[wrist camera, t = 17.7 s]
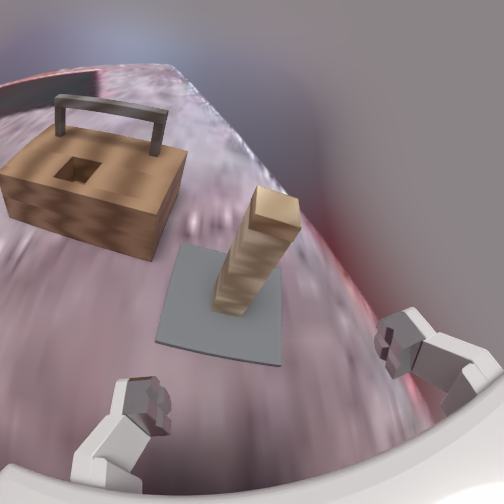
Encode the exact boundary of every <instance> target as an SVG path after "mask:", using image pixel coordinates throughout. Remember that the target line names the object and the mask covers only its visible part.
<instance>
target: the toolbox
mask: <svg viewBox="0 0 504 504" xmlns="http://www.w3.org/2000/svg"><path fill="white" fill-rule="evenodd" d="M54 106H55V124H52V125H51V126H49V127H48V128H47V129H46V130H44V131H43V132H42V133H41V134H39V135H38V136H37V137H36V138H34V139H33V140H32V141H31V142H30V143H28V144H27V145H26V146H25V147H24V148H23V149H22V150H21V151H19V152H18V153H17V154H16V155H15V156H14V157H13V158H12V159H11V160H10V161H9V162H8V163H7V164H6V165H5V166H4V167H3V168H2V169H1V170H0V187H1V191H2V194H3V198H4V201H5V204H6V208H7V211H8V214H9V217H11V218H13V219H16V220H19V221H22V222H25V223H28V224H31V225H34V226H37V227H40V228H43V229H46V230H49V231H52V232H55V233H58V234H61V235H64V236H67V237H70V238H73V239H76V240H80V241H83V242H86V243H89V244H92V245H96V246H99V247H102V248H106V249H109V250H112V251H116V252H119V253H122V254H126V255H129V256H133V257H136V258H140V259H143V260H147V261H150V262H151V261H152V259H153V256H154V253H155V250H156V248H157V245H158V242H159V240H160V237H161V235H162V232H163V229H164V227H165V224H166V222H167V219H168V217H169V214H170V212H171V210H172V207H173V205H174V202H175V200H176V198H177V195H178V192H179V187H180V183H181V178H182V174H183V169H184V165H185V161H186V157H187V153H188V151H185V150H181V149H177V148H173V147H169V146H165V145H162V140H163V135H164V130H165V125H166V120H167V116H168V112H169V111H168V110H164V109H159V108H154V107H149V106H144V105H139V104H134V103H128V102H122V101H116V100H109V99H102V98H94V97H86V96H77V95H66V94H60V95H58V96H56V97H55V104H54ZM66 108H74V109H82V110H89V111H96V112H102V113H108V114H114V115H120V116H125V117H131V118H136V119H141V120H145V121H150V122H154V127H153V133H152V139H151V142H149V141H144V140H140V139H135V138H131V137H126V136H121V135H116V134H111V133H106V132H101V131H95V130H90V129H84V128H78V127H71V126H65V113H66Z"/></svg>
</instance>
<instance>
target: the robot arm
mask: <svg viewBox="0 0 504 504" xmlns="http://www.w3.org/2000/svg"><path fill="white" fill-rule="evenodd" d="M376 328H377V330H378V332H377V334H376V335H375V339H374V344H375V349H376V352H377V354H378V356H379V357H380V359H383V360H385V361H386V365H385V367H386V369H387V371H388V372H389V374H390V376H391V377H392V379H395V378H397V377H400V376H402V375H404V374H406V373H409V372H411V371H412V373H413V374H415V375H417V376H419V377H420V378H422V379H424V380H425V381H427V382H429V383H431V384H432V385H434V386H436V387H438V388H439V389H441V390H443V391H445V392H446V393H447V394H446V396H445V397H444V399H443V400H442V402H441V405H440V406H441V408H442V409H443V411H444V413H445V415H446V416H447V417H446V418H444V419H443V420H441V421H440V422H438V423H436V424H435V425H433V426H431V427H430V428H428V429H426V430H425V431H423V432H421V433H419V434H417V435H416V436H414V437H412V438H410V439H408V440H406V441H404V442H402V443H400V444H398V445H396V446H394V447H392V448H390V449H388V450H386V451H383V452H381V453H379V454H377V455H374V456H372V457H370V458H367V459H365V460H362V461H360V462H357V463H354V464H352V465H349V466H346V467H343V468H341V469H338V470H335V471H332V472H328V473H325V474H322V475H319V476H315V477H312V478H308V479H304V480H300V481H296V482H292V483H288V484H283V485H278V486H273V487H268V488H263V489H257V490H250V491H243V492H234V493H225V494H212V495H188V496H172V495H149V494H142V480H141V479H140V478H138V477H136V476H135V475H133V474H131V473H130V472H131V470H132V469H133V467H134V465H135V464H136V462H137V460H138V458H139V457H140V455H141V453H142V452H143V450H144V448H145V447H146V445H147V443H148V442H149V440H150V438H151V437H152V436H166V435H170V431H171V420H170V419H169V418H168V416H167V415H168V414H169V412H170V411H171V401H170V396H169V394H168V392H167V390H166V389H165V388H164V387H162V386H159V383H160V381H159V380H158V379H157V377H156V376H151V377H140V378H127V379H118V381H117V382H116V385H115V390H114V394H113V399H112V405H111V410H110V415H106V416H105V417H104V419H103V420H102V421H101V422H100V423H99V424H98V426H97V427H96V428H95V429H94V430H93V432H92V433H91V434H90V435H89V436H88V437H87V439H86V440H85V441H84V442H83V443H82V445H81V446H80V447H79V448H78V449H77V451H76V452H75V453H74V458H73V464H72V471H71V478H70V482H68V481H64V480H60V479H57V478H53V477H50V476H47V475H44V474H41V473H38V472H35V471H32V470H29V469H27V468H24V467H21V466H19V465H16V464H8V465H7V466H5V467H4V468H3V469H2V471H1V472H0V504H504V371H503V369H502V368H501V367H500V365H499V364H498V363H497V362H496V360H495V359H494V358H493V357H492V356H491V354H490V353H489V352H488V351H487V350H486V349H483V348H480V347H477V346H475V345H472V344H470V343H467V342H464V341H462V340H459V339H456V338H454V337H451V336H448V335H446V334H443V333H441V332H439V333H436V332H435V331H434V329H433V328H432V327H431V326H430V325H429V324H428V322H427V321H426V320H425V319H424V318H423V317H422V315H421V314H420V313H419V312H418V311H417V310H416V309H415V308H414V307H410V308H408V309H405V310H403V311H401V312H398V313H395V314H393V315H390V316H388V317H385V318H383V319H381V320H379V321H378V322H377V326H376Z"/></svg>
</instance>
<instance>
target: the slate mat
mask: <svg viewBox="0 0 504 504" xmlns="http://www.w3.org/2000/svg"><path fill="white" fill-rule="evenodd" d="M226 257H227V254H225V253H221V252H218V251H214V250H210V249H207V248H203V247H199V246H196V245H192V244H188V243H185V242H182V243H181V246H180V250H179V253H178V256H177V260H176V263H175V267H174V270H173V274H172V277H171V281H170V284H169V288H168V292H167V295H166V299H165V303H164V307H163V311H162V315H161V319H160V323H159V327H158V331H157V335H156V339H155V342H156V343H160V344H164V345H167V346H171V347H176V348H180V349H184V350H188V351H193V352H197V353H202V354H207V355H211V356H216V357H222V358H227V359H232V360H238V361H244V362H250V363H256V364H263V365H270V366H277V367H280V366H282V278H281V268H277V267H275V268H274V269H273V271H272V272H271V274H270V275H269V277H268V278H267V280H266V281H265V283H264V284H263V286H262V287H261V289H260V290H259V292H258V293H257V294H256V296H255V297H254V299H253V300H252V302H251V303H250V305H249V306H248V308H247V309H246V311H245V312H244V313H243V315H242V316H241V317H236V316H232V315H227V314H223V313H218V312H214V311H210V309H211V303H212V296H213V290H214V285H215V282H216V280H217V277H218V275H219V273H220V270H221V268H222V266H223V263H224V261H225V259H226Z"/></svg>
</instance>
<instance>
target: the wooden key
mask: <svg viewBox="0 0 504 504" xmlns="http://www.w3.org/2000/svg"><path fill="white" fill-rule="evenodd" d="M301 228H302V227H301V218H300V210H299V202H298V199H297V198H294V197H291V196H288V195H285V194H283V193H280V192H277V191H274V190H271V189H268V188H265V187H262V186H258V185H257V187H256V189H255V191H254V194H253V196H252V198H251V202H250V204H249V206H248V209H247V211H246V213H245V215H244V218H243V220H242V222H241V224H240V227H239V229H238V231H237V234H236V236H235V238H234V240H233V243H232V245H231V247H230V250H229V252H228V254H227V257H226V259H225V261H224V263H223V266H222V268H221V270H220V273H219V275H218V277H217V280H216V282H215V285H214V290H213V296H212V303H211V309H210V311H214V312H218V313H223V314H227V315H232V316H236V317H241V316H242V315H243V313H244V312H245V311H246V309H247V308H248V306H249V305H250V303H251V302H252V300H253V299H254V297H255V296H256V294H257V293H258V292H259V290H260V289H261V287H262V286H263V284H264V283H265V281H266V280H267V278H268V277H269V275H270V274H271V272H272V271H273V269H274V268H275V266H276V265H277V263H278V262H279V260H280V259H281V257H282V256H283V254H284V253H285V251H286V250H287V248H288V247H289V245H290V244H291V242H293V241H294V239H295V238H296V236H297V235H298V233H299V232H300V230H301Z"/></svg>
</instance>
